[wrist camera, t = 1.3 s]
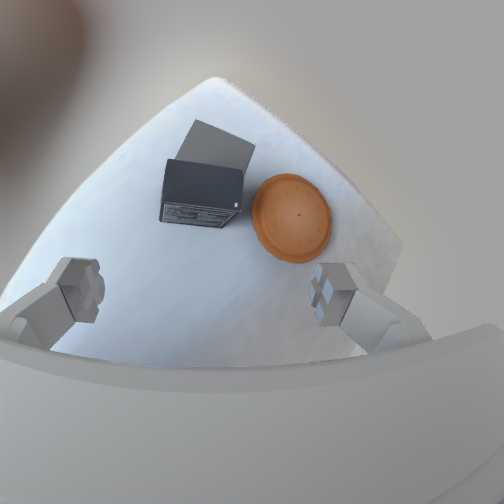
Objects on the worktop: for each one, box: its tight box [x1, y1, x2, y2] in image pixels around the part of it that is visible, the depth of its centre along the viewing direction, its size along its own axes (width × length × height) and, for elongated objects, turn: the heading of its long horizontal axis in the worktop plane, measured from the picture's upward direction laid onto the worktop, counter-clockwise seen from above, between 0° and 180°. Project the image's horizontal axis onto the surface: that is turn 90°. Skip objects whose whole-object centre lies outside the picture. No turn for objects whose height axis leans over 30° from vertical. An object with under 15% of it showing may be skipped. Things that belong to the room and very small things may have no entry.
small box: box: [159, 159, 244, 228], centre depth 38 cm, size 11×6×10 cm, turn 88°
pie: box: [251, 174, 332, 263], centre depth 46 cm, size 16×16×5 cm
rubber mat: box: [175, 120, 255, 172], centre depth 45 cm, size 11×12×1 cm
